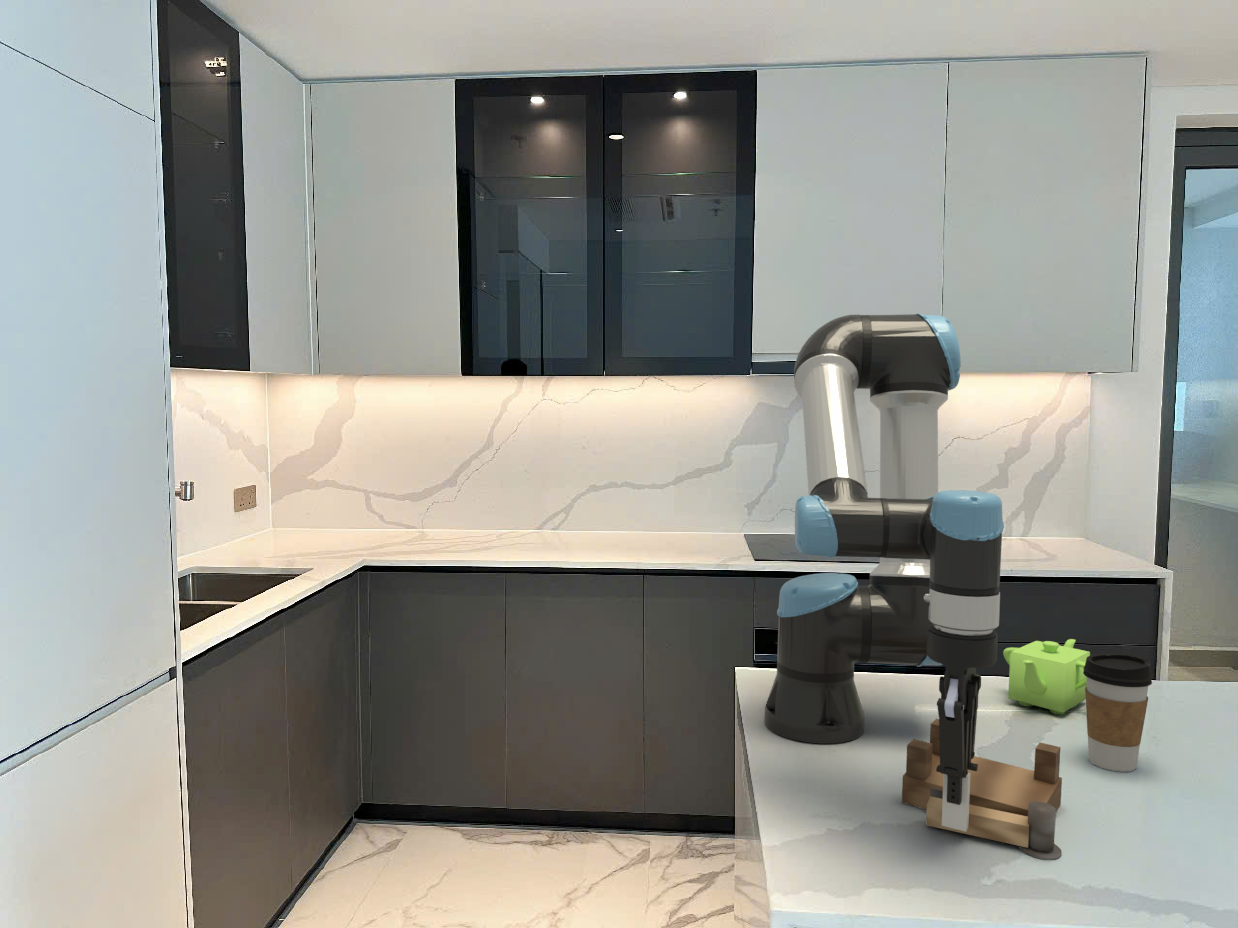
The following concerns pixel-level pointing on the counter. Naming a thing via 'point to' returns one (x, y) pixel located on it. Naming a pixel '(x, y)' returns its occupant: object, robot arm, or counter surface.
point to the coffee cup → (1116, 708)
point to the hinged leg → (1004, 824)
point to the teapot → (1047, 675)
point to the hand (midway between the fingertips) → (955, 825)
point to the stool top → (987, 782)
